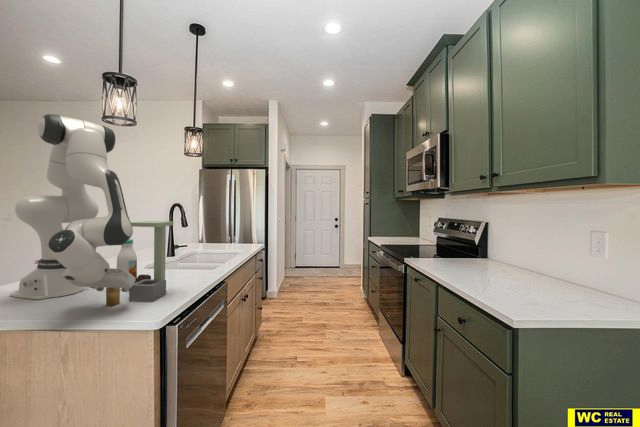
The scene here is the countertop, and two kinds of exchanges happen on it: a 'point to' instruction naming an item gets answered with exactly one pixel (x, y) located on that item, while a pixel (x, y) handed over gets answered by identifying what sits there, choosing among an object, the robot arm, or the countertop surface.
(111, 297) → the peg
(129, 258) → the milk bottle
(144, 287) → the socket
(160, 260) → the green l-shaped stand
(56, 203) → the robot arm
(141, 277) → the bolt
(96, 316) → the countertop surface
